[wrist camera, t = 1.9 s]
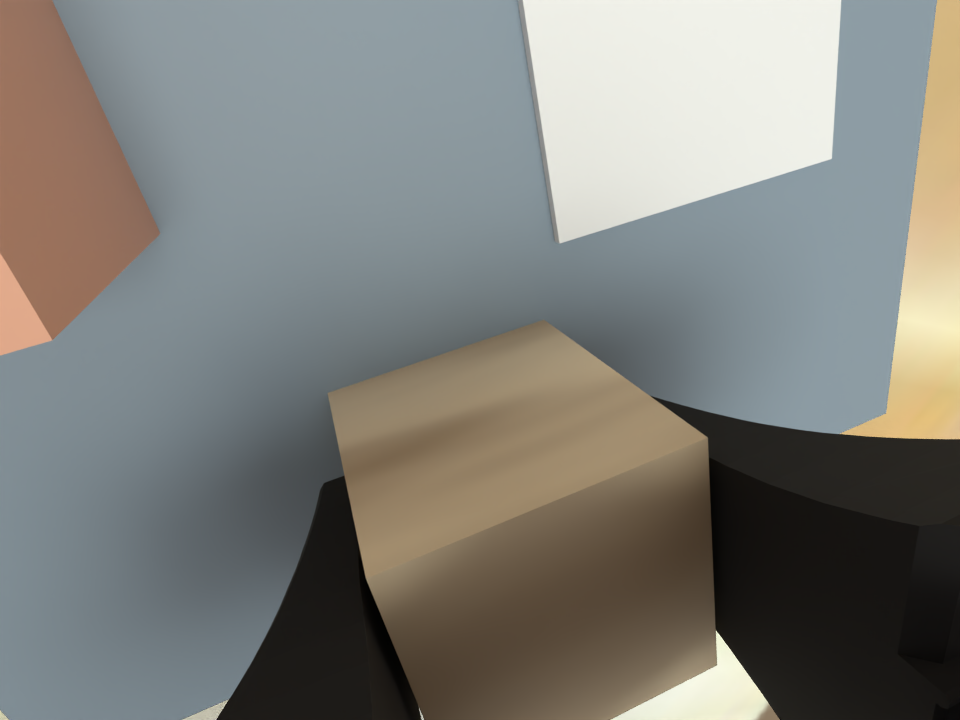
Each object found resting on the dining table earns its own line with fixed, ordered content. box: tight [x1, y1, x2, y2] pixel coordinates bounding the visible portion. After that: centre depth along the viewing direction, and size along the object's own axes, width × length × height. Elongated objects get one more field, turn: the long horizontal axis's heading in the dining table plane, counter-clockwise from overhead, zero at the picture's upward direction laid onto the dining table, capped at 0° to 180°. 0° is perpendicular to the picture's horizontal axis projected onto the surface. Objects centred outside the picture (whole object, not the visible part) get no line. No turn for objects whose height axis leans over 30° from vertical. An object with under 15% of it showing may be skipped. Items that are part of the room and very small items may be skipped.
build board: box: [0, 0, 937, 720], centre depth 11 cm, size 15×22×1 cm
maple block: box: [328, 320, 717, 720], centre depth 10 cm, size 4×4×5 cm
